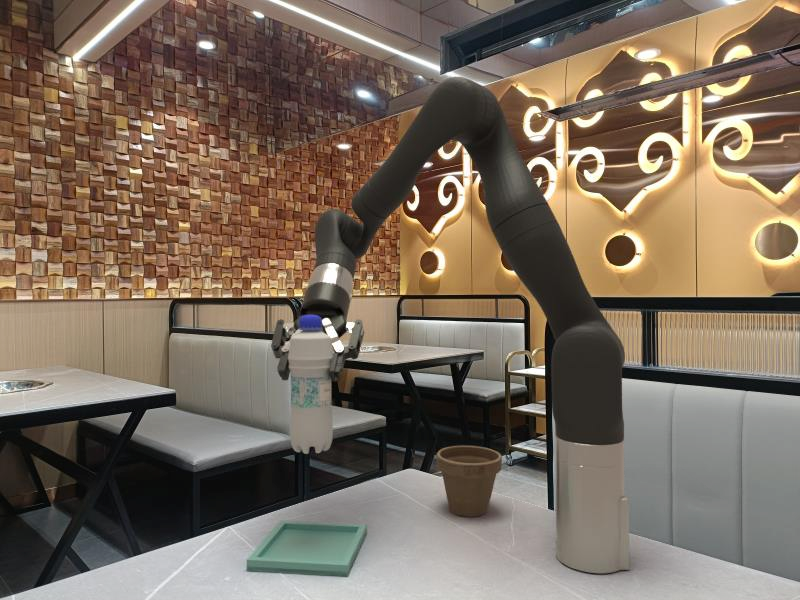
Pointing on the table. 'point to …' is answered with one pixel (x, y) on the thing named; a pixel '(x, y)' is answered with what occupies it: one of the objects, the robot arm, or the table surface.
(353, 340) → the robot arm
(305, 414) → the bottle
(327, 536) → the tray
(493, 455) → the flower pot
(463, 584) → the table surface
